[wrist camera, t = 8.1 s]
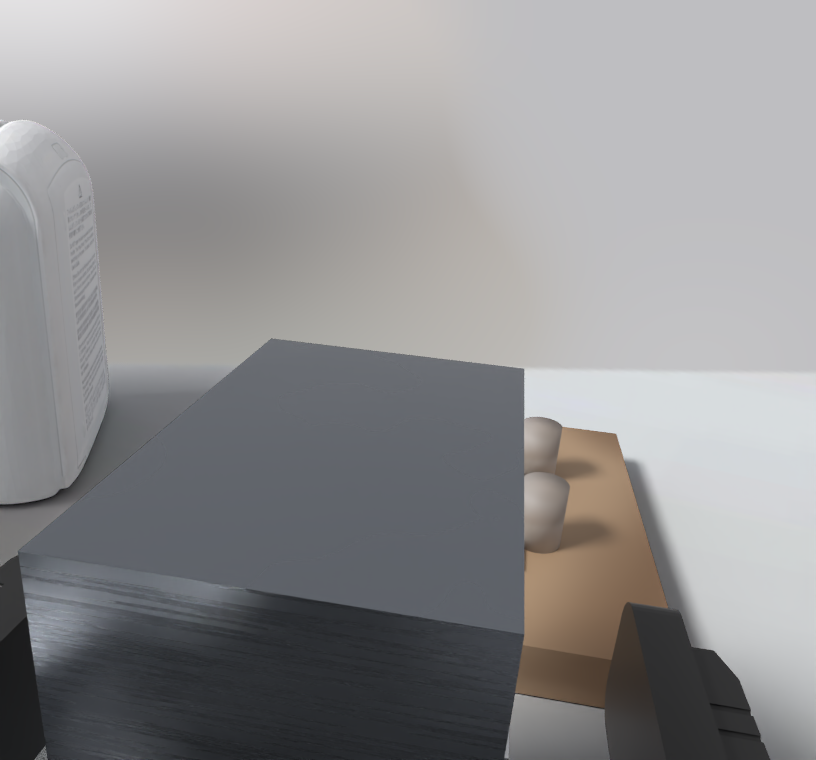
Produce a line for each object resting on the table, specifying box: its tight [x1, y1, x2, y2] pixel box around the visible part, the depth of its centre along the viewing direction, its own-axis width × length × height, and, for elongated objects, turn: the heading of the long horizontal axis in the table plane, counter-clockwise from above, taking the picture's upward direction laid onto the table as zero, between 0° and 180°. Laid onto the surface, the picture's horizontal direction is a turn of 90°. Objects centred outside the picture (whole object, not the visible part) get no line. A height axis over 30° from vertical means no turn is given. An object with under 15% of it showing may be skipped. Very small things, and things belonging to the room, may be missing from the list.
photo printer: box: [0, 119, 109, 504], centre depth 26 cm, size 10×4×12 cm, turn 14°
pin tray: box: [515, 417, 668, 708], centre depth 24 cm, size 14×14×4 cm
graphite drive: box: [18, 339, 525, 760], centre depth 10 cm, size 4×6×10 cm
